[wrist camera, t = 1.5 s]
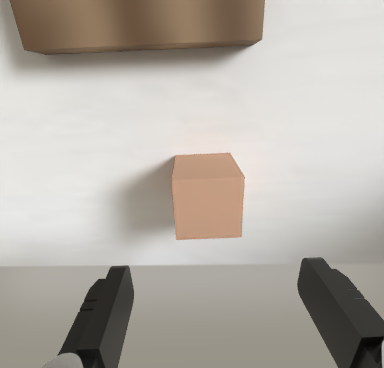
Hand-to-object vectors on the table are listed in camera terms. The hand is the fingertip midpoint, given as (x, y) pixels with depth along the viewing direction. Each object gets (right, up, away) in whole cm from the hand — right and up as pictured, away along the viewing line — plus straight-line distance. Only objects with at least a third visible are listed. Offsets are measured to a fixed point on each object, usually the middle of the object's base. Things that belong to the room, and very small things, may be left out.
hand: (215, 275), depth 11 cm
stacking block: (0, +5, +11) cm, 12 cm away
